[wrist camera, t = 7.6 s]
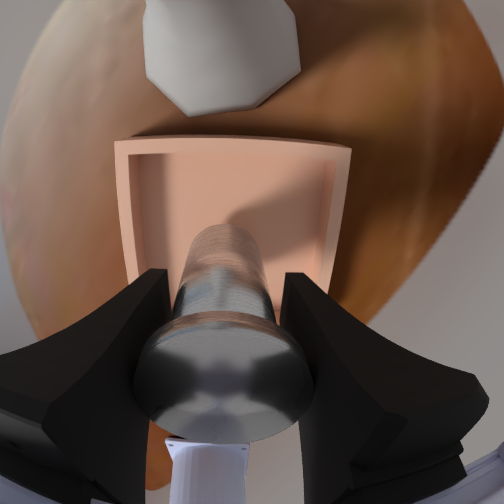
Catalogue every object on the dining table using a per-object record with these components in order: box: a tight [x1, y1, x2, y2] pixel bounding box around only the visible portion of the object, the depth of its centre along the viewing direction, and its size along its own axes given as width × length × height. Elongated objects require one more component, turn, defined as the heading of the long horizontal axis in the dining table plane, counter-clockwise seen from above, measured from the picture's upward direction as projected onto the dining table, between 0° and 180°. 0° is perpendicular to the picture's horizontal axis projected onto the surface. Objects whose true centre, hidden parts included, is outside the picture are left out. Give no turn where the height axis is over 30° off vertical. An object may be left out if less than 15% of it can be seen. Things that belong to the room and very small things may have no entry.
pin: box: [133, 224, 314, 445], centre depth 10 cm, size 4×4×8 cm
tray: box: [115, 134, 352, 326], centre depth 14 cm, size 10×10×2 cm
